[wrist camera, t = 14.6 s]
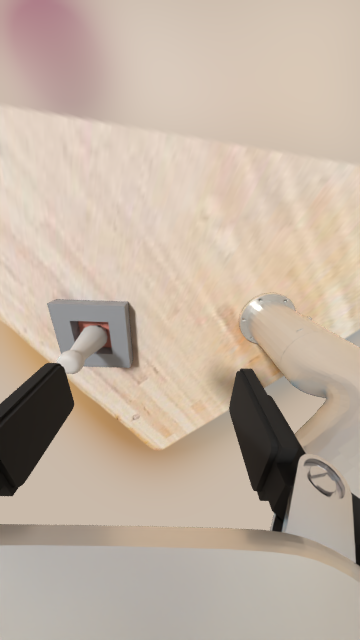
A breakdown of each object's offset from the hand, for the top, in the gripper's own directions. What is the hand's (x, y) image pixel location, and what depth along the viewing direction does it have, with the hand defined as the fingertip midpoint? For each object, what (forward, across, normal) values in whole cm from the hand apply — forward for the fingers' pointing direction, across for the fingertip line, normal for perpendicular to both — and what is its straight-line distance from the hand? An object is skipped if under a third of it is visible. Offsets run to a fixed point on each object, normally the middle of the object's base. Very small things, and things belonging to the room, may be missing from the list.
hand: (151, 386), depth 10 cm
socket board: (+30, +18, +13) cm, 38 cm away
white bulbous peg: (+30, +18, +13) cm, 38 cm away
